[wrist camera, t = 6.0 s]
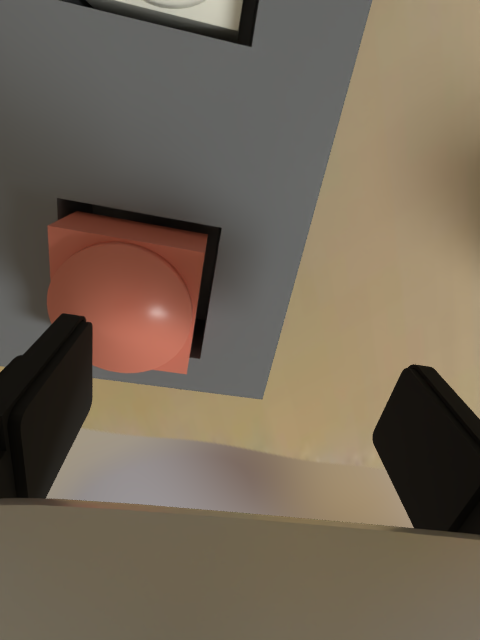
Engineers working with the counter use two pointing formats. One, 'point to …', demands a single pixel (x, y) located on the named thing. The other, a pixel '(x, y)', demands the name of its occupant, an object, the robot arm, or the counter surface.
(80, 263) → the red button
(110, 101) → the button panel
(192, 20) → the ivory button
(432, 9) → the counter surface
